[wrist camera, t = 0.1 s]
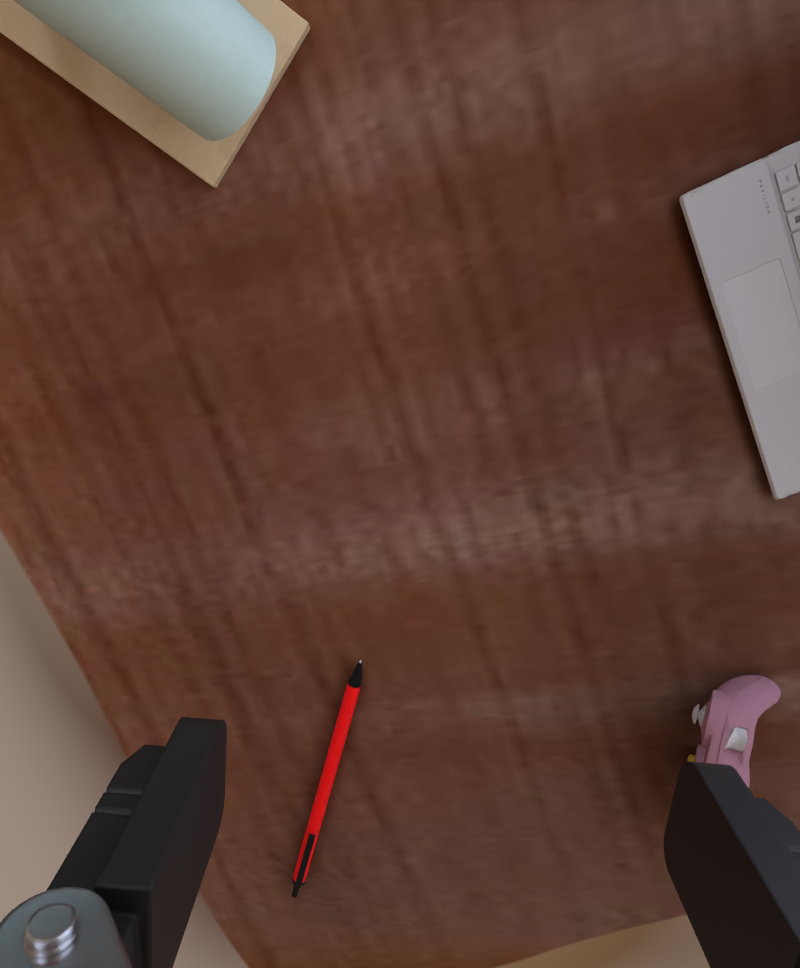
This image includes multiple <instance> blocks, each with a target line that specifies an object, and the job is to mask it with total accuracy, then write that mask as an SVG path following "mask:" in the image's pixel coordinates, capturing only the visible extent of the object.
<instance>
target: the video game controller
mask: <svg viewBox="0 0 800 968" xmlns="http://www.w3.org/2000/svg"><path fill="white" fill-rule="evenodd" d="M780 695H781V691H780V689H779V687H778V686H777V684H775V683H774V682H773V681H771V680H770V679H768V678H766V677H764V676H759V675H743V676H739V677H735V678H732V679H730V680H728V681H727V682H725V683H724V684H722V685H721V686H720V687H719V688H718V689H717V690H713V691H712V694H711V697H710V699H709V701H708V702H707V703H706V705H705V706H703V708H702V709H701V710H699V705H700V704H697V705H696V707H694V709H693V713H692V719H693V723H694V724H695V723H696V720H697V719H698V721H699V725H700V726H701V733H702V734H701V737H702V739H701V745H699V744H698V745H697V749H696V753H695V755H692V754H690V755H689V756H688V759H687V761H689V762H701V763H712V764H724V765H731V766H732V767H734V768H735V769H736V771H737V772H738V774H739V775H740V776H741V778H742V779H743V781H744V782H745V784H746V785H747V787H748V788H749V786H750V770H749V759H750V755H751V751H752V746H753V741H754V733H755V726H756V723H757V720H758V718H759V717H760V715H761V714H762V713H763V712H765V711H766V710H767V709H768V708H770V707H771V706H773V705H774V704H776V703H777V701H778V700H779V698H780Z"/></svg>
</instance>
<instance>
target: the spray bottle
mask: <svg viewBox="0 0 800 968" xmlns="http://www.w3.org/2000/svg"><path fill="white" fill-rule="evenodd" d="M13 1H15V2H16V3H18V4H19V5H20V6H22V7H23V8H24V9H26V10H27V11H29V12H30V13H31V14H33V15H34V16H35V17H37V18H38V19H40V20H41V21H42V22H44V23H45V24H47V25H48V26H49V27H51V28H52V29H53V30H55V31H56V32H58V33H59V34H60V35H62V36H63V37H64V38H66V39H67V40H69V41H70V42H71V43H73V44H74V45H75V46H77V47H78V48H80V49H81V50H82V51H84V52H85V53H86V54H88V55H89V56H91V57H92V58H93V59H95V60H96V61H97V62H99V63H100V64H102V65H103V66H104V67H106V68H107V69H109V70H110V71H111V72H113V73H114V74H115V75H117V76H118V77H120V78H121V79H122V80H124V81H125V82H126V83H128V84H129V85H131V86H132V87H133V88H135V89H136V90H137V91H139V92H140V93H142V94H143V95H144V96H146V97H147V98H148V99H150V100H151V101H153V102H154V103H155V104H157V105H158V106H159V107H161V108H162V109H164V110H165V111H166V112H168V113H169V114H170V115H172V116H173V117H175V118H176V119H177V120H179V121H180V122H182V123H183V124H184V125H186V126H187V127H188V128H190V129H191V130H193V131H194V132H195V133H197V134H198V135H199V136H201V137H202V138H204V139H206V140H209V141H217V140H221V139H224V138H226V137H228V136H230V135H231V134H233V133H234V132H236V131H237V130H238V129H239V128H240V127H241V126H242V125H243V124H244V123H245V122H246V121H247V120H248V119H249V118H250V117H251V115H252V114H253V113H254V111H255V110H256V109H257V107H258V105H259V104H260V102H261V100H262V99H263V97H264V95H265V93H266V91H267V89H268V86H269V84H270V81H271V78H272V75H273V72H274V67H275V62H276V45H275V41H274V38H273V36H272V34H271V33H270V32H269V31H268V30H267V29H266V28H265V27H264V26H263V25H262V24H261V23H260V22H259V21H258V20H257V19H256V18H255V17H254V16H253V15H252V14H251V13H250V12H249V11H248V10H247V9H246V8H245V7H244V6H243V5H241V4H240V3H239V2H238V1H237V0H13Z"/></svg>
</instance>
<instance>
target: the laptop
mask: <svg viewBox="0 0 800 968" xmlns="http://www.w3.org/2000/svg"><path fill="white" fill-rule="evenodd" d="M679 200H680V204H681V207H682V211H683V214H684V217H685V220H686V223H687V226H688V229H689V233H690V236H691V239H692V242H693V245H694V248H695V252H696V255H697V258H698V261H699V264H700V267H701V270H702V274H703V277H704V280H705V283H706V286H707V289H708V292H709V296H710V299H711V302H712V305H713V308H714V311H715V314H716V318H717V321H718V324H719V327H720V330H721V333H722V337H723V340H724V343H725V346H726V349H727V352H728V355H729V359H730V362H731V365H732V368H733V371H734V374H735V377H736V381H737V384H738V387H739V390H740V393H741V396H742V399H743V403H744V406H745V409H746V412H747V415H748V418H749V422H750V425H751V428H752V431H753V434H754V437H755V440H756V444H757V447H758V450H759V453H760V456H761V459H762V462H763V466H764V469H765V472H766V475H767V478H768V481H769V484H770V488H771V491H772V494H773V497H774V499H782V498H784V497H787V496H789V495H792V494H794V493H797V492H799V491H800V141H798V142H795V143H793V144H791V145H788V146H786V147H784V148H782V149H780V150H778V151H776V152H774V153H772V154H770V155H767V156H765V157H763V158H761V159H759V160H757V161H754V162H752V163H750V164H748V165H746V166H744V167H741V168H739V169H737V170H735V171H733V172H731V173H728V174H726V175H724V176H722V177H720V178H718V179H716V180H713V181H711V182H709V183H707V184H705V185H703V186H700V187H698V188H696V189H694V190H692V191H690V192H688V193H685V194H683V195H682V196H681V197H680V199H679Z"/></svg>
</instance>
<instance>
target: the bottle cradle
mask: <svg viewBox="0 0 800 968" xmlns="http://www.w3.org/2000/svg"><path fill="white" fill-rule="evenodd" d="M237 1H238V2H239V3H240V4H241V5H243V6H244V7H245V8H246V9H247V10H248V11H249V12H250V13H251V14H252V15H253V16H254V17H255V18H256V19H257V20H258V21H259V22H260V23H261V24H262V25H263V26H264V27H265V28H266V29H267V30H268V31H269V32H270V33H271V34H272V36H273V38H274V41H275V45H276V62H275V67H274V72H273V75H272V78H271V81H270V84H269V86H268V89H267V91H266V93H265V95H264V97H263V99H262V100H261V102H260V104H259V105H258V107H257V109H256V110H255V111H254V113H253V114H252V115H251V117H250V118H249V119H248V120H247V121H246V122H245V123H244V124H243V125H242V126H241V127H240V128H239V129H238V130H237V131H236V132H234V133H233V134H231V135H230V136H228V137H226V138H224V139H221V140H217V141H209V140H206V139H204V138H202V137H201V136H199V135H198V134H197V133H195V132H194V131H193V130H191V129H190V128H188V127H187V126H186V125H184V124H183V123H182V122H180V121H179V120H177V119H176V118H175V117H173V116H172V115H170V114H169V113H168V112H166V111H165V110H164V109H162V108H161V107H159V106H158V105H157V104H155V103H154V102H153V101H151V100H150V99H148V98H147V97H146V96H144V95H143V94H142V93H140V92H139V91H137V90H136V89H135V88H133V87H132V86H131V85H129V84H128V83H126V82H125V81H124V80H122V79H121V78H120V77H118V76H117V75H115V74H114V73H113V72H111V71H110V70H109V69H107V68H106V67H104V66H103V65H102V64H100V63H99V62H97V61H96V60H95V59H93V58H92V57H91V56H89V55H88V54H86V53H85V52H84V51H82V50H81V49H80V48H78V47H77V46H75V45H74V44H73V43H71V42H70V41H69V40H67V39H66V38H64V37H63V36H62V35H60V34H59V33H58V32H56V31H55V30H53V29H52V28H51V27H49V26H48V25H47V24H45V23H44V22H42V21H41V20H40V19H38V18H37V17H35V16H34V15H33V14H31V13H30V12H29V11H27V10H26V9H24V8H23V7H22V6H20V5H19V4H18V3H16V2H15V1H13V0H0V33H2V34H3V35H4V36H6V37H7V38H8V39H10V40H11V41H13V42H14V43H15V44H17V45H18V46H19V47H21V48H22V49H24V50H25V51H26V52H28V53H29V54H30V55H32V56H33V57H35V58H36V59H37V60H39V61H40V62H41V63H43V64H44V65H46V66H47V67H48V68H50V69H51V70H52V71H54V72H55V73H57V74H58V75H59V76H61V77H62V78H63V79H65V80H66V81H68V82H69V83H70V84H72V85H73V86H74V87H76V88H77V89H79V90H80V91H81V92H83V93H84V94H86V95H87V96H88V97H90V98H91V99H92V100H94V101H95V102H97V103H98V104H99V105H101V106H102V107H103V108H105V109H106V110H108V111H109V112H110V113H112V114H113V115H114V116H116V117H117V118H119V119H120V120H121V121H123V122H124V123H125V124H127V125H128V126H130V127H131V128H132V129H134V130H135V131H136V132H138V133H139V134H141V135H142V136H143V137H145V138H146V139H147V140H149V141H150V142H152V143H153V144H154V145H156V146H157V147H158V148H160V149H161V150H163V151H164V152H165V153H167V154H168V155H169V156H171V157H172V158H174V159H175V160H176V161H178V162H179V163H180V164H182V165H183V166H185V167H186V168H187V169H189V170H190V171H191V172H193V173H194V174H196V175H197V176H198V177H200V178H201V179H202V180H204V181H205V182H207V183H208V184H209V185H211V186H212V187H214V188H217V187H218V185H219V183H220V182H221V180H222V178H223V177H224V175H225V173H226V171H227V170H228V168H229V166H230V165H231V163H232V161H233V160H234V158H235V156H236V154H237V153H238V151H239V149H240V148H241V146H242V144H243V143H244V141H245V139H246V138H247V136H248V134H249V132H250V131H251V129H252V127H253V126H254V124H255V122H256V121H257V119H258V117H259V115H260V114H261V112H262V110H263V109H264V107H265V105H266V104H267V102H268V100H269V98H270V97H271V95H272V93H273V92H274V90H275V88H276V87H277V85H278V83H279V81H280V80H281V78H282V76H283V75H284V73H285V71H286V70H287V68H288V66H289V64H290V63H291V61H292V59H293V58H294V56H295V54H296V53H297V51H298V49H299V47H300V46H301V44H302V42H303V41H304V39H305V37H306V36H307V34H308V32H309V30H310V26H309V24H308V22H307V21H305V20H304V19H303V18H302V17H300V16H299V15H298V14H297V13H295V12H294V11H293V10H291V9H290V8H289V7H288V6H286V5H285V4H284V3H283V2H281V1H280V0H237Z"/></svg>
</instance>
